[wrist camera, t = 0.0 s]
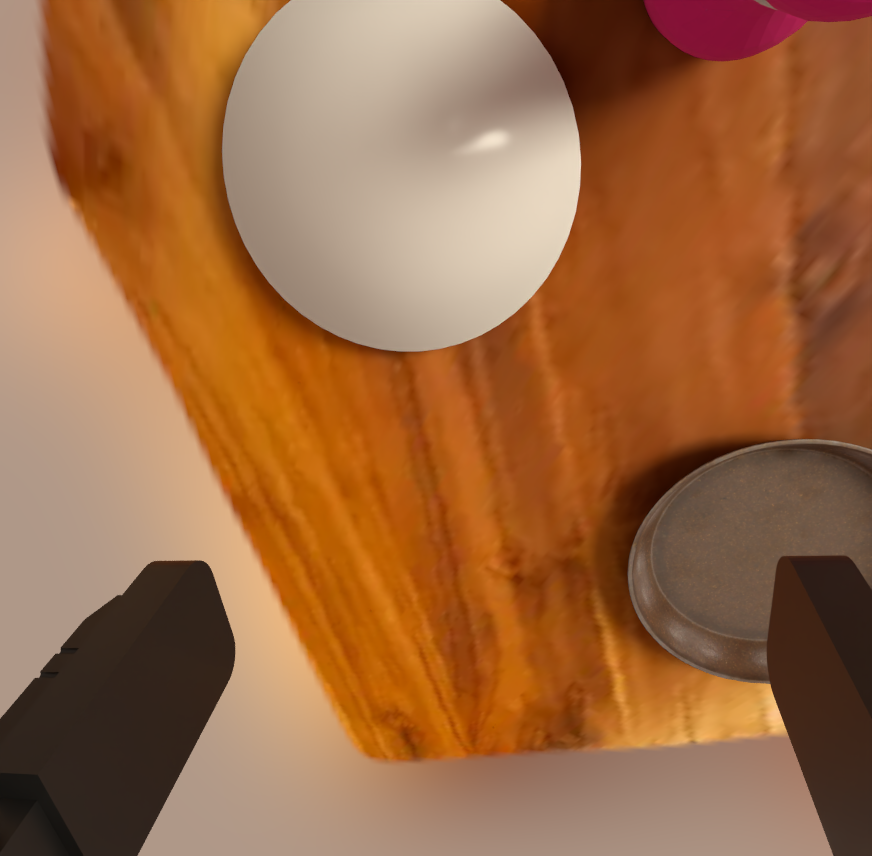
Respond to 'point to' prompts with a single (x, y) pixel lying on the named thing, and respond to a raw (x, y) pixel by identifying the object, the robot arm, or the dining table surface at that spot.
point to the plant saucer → (745, 546)
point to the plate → (401, 166)
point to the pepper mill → (743, 23)
